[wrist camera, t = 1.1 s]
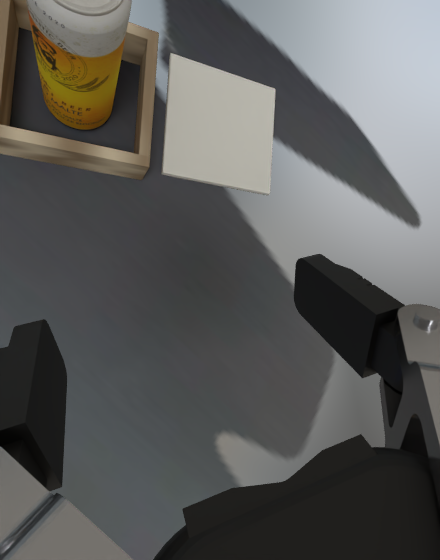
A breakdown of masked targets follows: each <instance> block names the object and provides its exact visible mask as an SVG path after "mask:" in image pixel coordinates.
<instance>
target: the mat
mask: <svg viewBox="0 0 440 560" xmlns="http://www.w3.org/2000/svg"><path fill="white" fill-rule="evenodd" d="M274 107H275V89H274V88H271V87H268V86H265V85H263V84H260V83H257V82H254V81H251V80H248V79H245V78H242V77H239V76H236V75H233V74H230V73H228V72H225V71H222V70H219V69H216V68H213V67H210V66H207V65H204V64H201V63H198V62H196V61H193V60H190V59H187V58H184V57H181V56H178V55H175V54H172V53H171V54H170V58H169V72H168V88H167V101H166V116H165V130H164V145H163V159H162V175H167V176H172V177H177V178H182V179H187V180H192V181H197V182H202V183H207V184H212V185H217V186H222V187H227V188H232V189H237V190H243V191H248V192H253V193H258V194H263V195H269V194H270V182H271V164H272V145H273V126H274Z"/></svg>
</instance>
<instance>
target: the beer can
mask: <svg viewBox="0 0 440 560" xmlns="http://www.w3.org/2000/svg"><path fill="white" fill-rule="evenodd" d="M131 2H132V0H26V3H27V9H28V14H29V20H30V25H31V30H32V36H33V41H34V47H35V52H36V58H37V63H38V69H39V74H40V80H41V85H42V91H43V96H44V100H45V103H46V105H47V107H48V109H49V110H50V112H51V113H52V114H53V115H54V116H55V117H56V118H57V119H58V120H59V121H61V122H62V123H64V124H66V125H67V126H70V127H73V128H76V129H82V130H88V129H94V128H97V127H99V126H101V125H102V124H104V123H105V122H106V121H107V119H108V118H109V116H110V114H111V111H112V107H113V101H114V96H115V90H116V85H117V80H118V74H119V69H120V63H121V58H122V53H123V47H124V42H125V36H126V31H127V26H128V20H129V15H130V9H131Z"/></svg>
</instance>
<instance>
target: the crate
mask: <svg viewBox="0 0 440 560" xmlns="http://www.w3.org/2000/svg"><path fill="white" fill-rule="evenodd" d="M19 27H20V28H23V29H26V30H30V31H32V30H31V25H30V20H29V14H28V9H27V3H26V0H0V154H5V155H10V156H15V157H21V158H26V159H31V160H37V161H42V162H47V163H53V164H58V165H63V166H69V167H74V168H79V169H85V170H90V171H95V172H101V173H106V174H111V175H117V176H122V177H127V178H133V179H138V180H142V179H143V177H144V175H145V174H146V172H147V170H148V169H149V164H150V150H151V136H152V122H153V107H154V93H155V79H156V65H157V51H158V37H159V33H158V32H155V31H152V30H149V29H147V28H144V27H141V26H138V25H136V24H133V23H130V22H128V26H127V31H126V36H125V42H124V47H123V53H122V58H121V60H124V61H127V62H131V63H134V64H137V65H140V75H139V89H138V103H137V116H136V130H135V143H134V153H130V152H126V151H121V150H117V149H112V148H107V147H103V146H98V145H93V144H89V143H84V142H80V141H75V140H70V139H66V138H61V137H56V136H52V135H47V134H42V133H38V132H33V131H29V130H24V129H19V128H15V127H10V118H11V107H12V96H13V86H14V75H15V64H16V54H17V43H18V32H19Z"/></svg>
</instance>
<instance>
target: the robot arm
mask: <svg viewBox="0 0 440 560" xmlns="http://www.w3.org/2000/svg"><path fill="white" fill-rule="evenodd" d="M294 302H295V306H296V308H297V310H298V312H299V313H300V314H301V316H302V317H303V318H304V319H305V320H306V321H307V322H308V323H309V324H310V325H311V326H312V327H313V328H314V329H315V330H316V331H317V332H318V333H319V334H320V335H321V336H322V337H323V338H324V339H325V340H326V341H327V342H328V343H329V344H330V345H331V346H332V347H333V348H334V349H335V351H336V352H337V353H338V354H339V355H340V356H341V357H342V358H343V359H344V360H345V361H346V362H347V363H348V364H349V365H350V366H351V367H352V368H353V369H354V370H355V371H356V372H357V373H358V374H359V375H360V376H361V377H362V378H364V377H367V376H370V375H373V374H375V373H378V374H379V375H380V376H381V380H380V393H381V404H382V412H383V422H384V431H385V447H373V448H372V447H371V446H370V445H369V444H368V442H367V441H366V440H365V439H364V437H363V436H362V435H361V434H360V435H358V436H356V437H354V438H351V439H348V440H346V441H344V442H341V443H339V444H337V445H334V446H332V447H329V448H327V449H325V450H322V451H321V452H320V453H319V454H317V455H316V456H315V457H314V458H313V459H312V460H310V461H309V462H308V463H307V464H306V465H305V466H303V467H302V468H301V469H300V470H298V471H297V472H296V473H295V474H294V475H293V476H291V477H290V478H289V479H288V480H286V481H283V482H279V483H271V484H263V485H255V486H247V487H239V488H231V489H229V490H226V491H224V492H222V493H219V494H217V495H214V496H212V497H210V498H207V499H205V500H203V501H200V502H198V503H195V504H193V505H191V506H188V507H186V508H183V514H184V518H185V522H186V525H185V526H184V527H183V528H182V529H180V530H179V531H178V532H177V533H176V534H175V535H174V536H173V537H172V538H171V539H170V540H169V541H168V542H167V543H166V544H165V545H164V546H163V547H162V549H161V550H160V551H159V553H158V554H157V555H156V556H155V558H154V559H153V560H440V309H438V308H435V307H432V306H427V305H421V304H412V305H406V306H405V305H404V304H402V303H401V302H399V301H398V300H396V299H394V298H393V297H392V296H390V295H388V294H387V293H386V292H384V291H383V290H381V289H380V288H378V287H377V286H375V285H372V283H371V282H369V281H368V280H366V279H363V278H362V276H360V275H359V274H357V273H356V272H354V271H353V270H351V269H348V268H346V267H343V266H340V265H337V264H335V263H333V262H332V261H330V260H329V259H327V258H326V257H325V256H323V255H321V254H316V255H312V256H308V257H304V258H300V259H298V261H297V262H296V270H295V287H294ZM66 393H67V373H66V368H65V364H64V360H63V358H62V355H61V353H60V351H59V348H58V346H57V343H56V341H55V339H54V336H53V334H52V331H51V329H50V327H49V325H48V323H47V321H46V320H44V319H43V320H39V321H35V322H31V323H27V324H23V325H18V326H15V327H14V329H13V332H12V336H11V339H10V343H9V346H8V347H5V348H1V349H0V560H133V559H132V558H131V557H130V556H128V555H127V554H126V553H125V552H124V551H123V550H122V549H121V548H120V547H119V546H117V545H116V544H115V543H114V542H113V541H112V540H111V539H110V538H109V537H108V536H106V535H105V534H104V533H103V532H102V531H101V530H100V529H99V528H98V527H97V526H95V525H94V524H93V523H92V522H91V521H90V520H89V519H88V518H87V517H86V516H84V515H83V514H82V513H81V512H80V511H79V510H78V509H77V508H76V507H75V506H74V505H72V504H71V503H70V502H69V501H68V500H67V499H66V498H64V497H63V496H62V495H60V494H58V493H56V494H55V495H53V494H51V493H50V492H49V491H52V490H55V489H57V488H60V487H62V477H63V456H64V435H65V414H66Z"/></svg>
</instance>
